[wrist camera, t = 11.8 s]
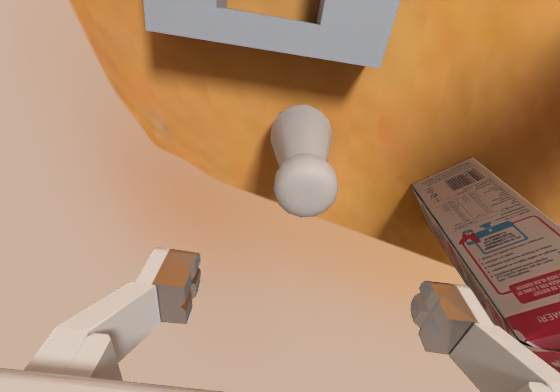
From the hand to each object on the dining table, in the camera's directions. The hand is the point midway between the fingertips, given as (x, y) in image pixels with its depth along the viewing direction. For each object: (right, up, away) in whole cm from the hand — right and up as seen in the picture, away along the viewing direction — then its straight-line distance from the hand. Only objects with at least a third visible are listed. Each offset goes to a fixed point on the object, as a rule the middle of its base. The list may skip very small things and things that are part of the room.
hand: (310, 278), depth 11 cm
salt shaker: (+1, +10, +19) cm, 22 cm away
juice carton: (+18, +3, +23) cm, 29 cm away
